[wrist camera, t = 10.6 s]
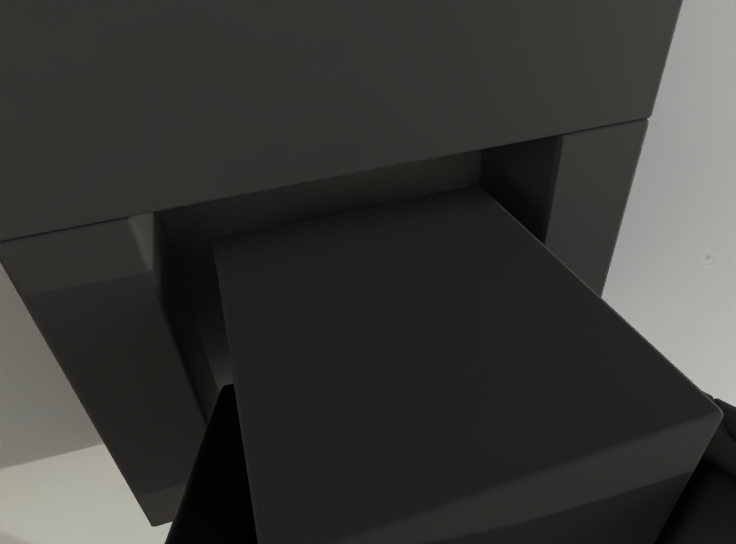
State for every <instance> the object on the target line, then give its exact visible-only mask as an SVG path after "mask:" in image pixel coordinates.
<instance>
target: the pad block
mask: <svg viewBox="0 0 736 544" xmlns="http://www.w3.org/2000/svg"><path fill="white" fill-rule="evenodd" d="M213 248H214V255H215V261H216V268H217V275H218V281H219V288H220V295H221V301H222V308H223V315H224V321H225V328H226V334H227V341H228V348H229V354H230V361H231V368H232V374H233V381H234V388H235V394H236V401H237V408H238V414H239V421H240V428H241V434H242V441H243V448H244V454H245V461H246V467H247V474H248V481H249V487H250V494H251V501H252V507H253V514H254V521H255V527H256V534H257V541H258V544H654V543H655V541H656V540H657V538H658V536H659V534H660V532H661V530H662V529H663V527H664V525H665V523H666V521H667V519H668V518H669V516H670V514H671V512H672V510H673V508H674V506H675V505H676V503H677V501H678V499H679V497H680V495H681V494H682V492H683V490H684V488H685V486H686V484H687V482H688V481H689V479H690V477H691V475H692V473H693V471H694V470H695V468H696V466H697V464H698V462H699V460H700V459H701V457H702V455H703V453H704V451H705V449H706V447H707V446H708V444H709V442H710V440H711V438H712V436H713V435H714V433H715V431H716V429H717V427H718V425H719V423H720V422H721V420H722V418H723V412H722V410H721V408H720V407H718V406H717V405H716V404H715V403H714V402H713V401H712V400H711V399H710V398H709V397H708V396H707V395H706V394H704V393H703V392H702V391H701V390H700V389H699V388H698V387H697V386H696V385H695V384H694V383H693V382H691V381H690V380H689V379H688V378H687V377H686V376H685V375H684V374H683V373H682V372H681V371H680V370H678V369H677V368H676V367H675V366H674V365H673V364H672V363H671V362H670V361H669V360H668V359H667V358H665V357H664V356H663V355H662V354H661V353H660V352H659V351H658V350H657V349H656V348H655V347H654V346H653V345H651V344H650V343H649V342H648V341H647V340H646V339H645V338H644V337H643V336H642V335H641V334H640V333H638V332H637V331H636V330H635V329H634V328H633V327H632V326H631V325H630V324H629V323H628V322H627V321H625V320H624V319H623V318H622V317H621V316H620V315H619V314H618V313H617V312H616V311H615V310H614V309H612V308H611V307H610V306H609V305H608V304H607V303H606V302H605V301H604V300H603V299H602V298H601V297H600V296H598V295H597V294H596V293H595V292H594V291H593V290H592V289H591V288H590V287H589V286H588V285H587V284H585V283H584V282H583V281H582V280H581V279H580V278H579V277H578V276H577V275H576V274H575V273H574V272H572V271H571V270H570V269H569V268H568V267H567V266H566V265H565V264H564V263H563V262H562V261H561V260H559V259H558V258H557V257H556V256H555V255H554V254H553V253H552V252H551V251H550V250H549V249H548V248H547V247H545V246H544V245H543V244H542V243H541V242H540V241H539V240H538V239H537V238H536V237H535V236H534V235H532V234H531V233H530V232H529V231H528V230H527V229H526V228H525V227H524V226H523V225H522V224H521V223H519V222H518V221H517V220H516V219H515V218H514V217H513V216H512V215H511V214H510V213H509V212H508V211H506V210H505V209H504V208H503V207H502V206H501V205H500V204H499V203H498V202H497V201H496V200H495V199H494V198H492V197H491V196H490V195H489V194H488V193H487V192H486V191H485V190H484V189H483V188H482V187H481V186H479V185H473V186H468V187H463V188H459V189H454V190H449V191H444V192H439V193H434V194H429V195H424V196H420V197H415V198H410V199H405V200H400V201H395V202H390V203H385V204H381V205H376V206H371V207H366V208H361V209H356V210H351V211H346V212H342V213H337V214H332V215H327V216H322V217H317V218H312V219H307V220H303V221H298V222H293V223H288V224H283V225H278V226H273V227H268V228H264V229H259V230H254V231H249V232H244V233H239V234H234V235H229V236H225V237H220V238H216V239H214V241H213Z"/></svg>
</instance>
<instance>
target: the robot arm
mask: <svg viewBox="0 0 736 544" xmlns="http://www.w3.org/2000/svg"><path fill="white" fill-rule="evenodd" d="M702 392H703V391H702ZM703 393H704V394H706V395H707V396H708V397H709V398H710V399H711V400H712V401H713V402H714V403H715V404H716V405H717V406H718V407H720V408H721V410H722V412H723V418H722V420H721V422H720V423H719V425H718V427H717V429H716V431H715V433H714V435H713V436H712V438H711V440H710V442H709V444H708V446H707V447H706V449H705V451H704V453H703V455H702V457H701V459H700V460H699V462H698V464H697V466H696V468H695V470H694V471H693V473H692V475H691V477H690V479H689V481H688V482H687V484H686V486H685V488H684V490H683V492H682V494H681V495H680V497H679V499H678V501H677V503H676V505H675V506H674V508H673V510H672V512H671V514H670V516H669V518H668V519H667V521H666V523H665V525H664V527H663V529H662V530H661V532H660V534H659V536H658V538H657V540H656V541H655V543H654V544H736V407H734V406H732V405H730V404H728V403H726V402H724V401H722V400H720V399H717V398H716V399H714V398H713V397H712V396H711V395H709V394H707V393H705V392H703ZM165 544H258V541H257V534H256V527H255V521H254V514H253V507H252V501H251V494H250V487H249V481H248V474H247V467H246V461H245V454H244V448H243V441H242V434H241V428H240V421H239V414H238V408H237V401H236V394H235V388H234V383H233V384H229V385H225V386H224V387H223V388H222V389H221V392H220V394H219V397H218V400H217V402H216V405H215V408H214V411H213V413H212V416H211V419H210V421H209V424H208V427H207V430H206V432H205V435H204V438H203V441H202V443H201V446H200V449H199V451H198V454H197V457H196V460H195V462H194V465H193V468H192V471H191V473H190V476H189V479H188V481H187V484H186V487H185V490H184V492H183V495H182V498H181V501H180V503H179V506H178V509H177V511H176V514H175V517H174V520H173V522H172V525H171V528H170V531H169V533H168V536H167V539H166V541H165Z"/></svg>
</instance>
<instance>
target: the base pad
mask: <svg viewBox="0 0 736 544" xmlns="http://www.w3.org/2000/svg"><path fill="white" fill-rule="evenodd" d="M682 2H683V0H0V262H1V264H2V266H3V268H4V269H5V271H6V273H7V274H8V276H9V278H10V280H11V281H12V283H13V285H14V287H15V288H16V290H17V292H18V294H19V295H20V297H21V299H22V301H23V302H24V304H25V306H26V308H27V309H28V311H29V313H30V315H31V316H32V318H33V320H34V322H35V323H36V325H37V327H38V329H39V330H40V332H41V334H42V336H43V337H44V339H45V341H46V342H47V344H48V346H49V348H50V349H51V351H52V353H53V355H54V356H55V358H56V360H57V362H58V363H59V365H60V367H61V369H62V370H63V372H64V374H65V376H66V377H67V379H68V381H69V383H70V384H71V386H72V388H73V390H74V391H75V393H76V395H77V397H78V398H79V400H80V402H81V404H82V405H83V407H84V409H85V410H86V412H87V414H88V416H89V417H90V419H91V421H92V423H93V424H94V426H95V428H96V430H97V431H98V433H99V435H100V437H101V438H102V440H103V442H104V444H105V445H106V447H107V449H108V451H109V452H110V454H111V456H112V458H113V459H114V461H115V463H116V465H117V466H118V468H119V470H120V472H121V473H122V475H123V477H124V478H125V480H126V482H127V484H128V485H129V487H130V489H131V491H132V492H133V494H134V496H135V498H136V499H137V501H138V503H139V505H140V506H141V508H142V510H143V512H144V513H145V515H146V517H147V519H148V520H149V522H150V524H151V526H159V525H162V524H165V523H169V522H172V521H173V520H174V517H175V514H176V511H177V509H178V506H179V503H180V501H181V498H182V495H183V492H184V490H185V487H186V484H187V481H188V479H189V476H190V473H191V471H192V468H193V465H194V462H195V460H196V457H197V454H198V451H199V449H200V446H201V443H202V441H203V438H204V435H205V432H206V430H207V427H208V424H209V421H210V419H211V416H212V413H213V411H214V408H215V405H216V402H217V400H218V397H219V392H218V389H217V386H216V383H215V380H214V377H213V374H212V371H211V368H210V365H209V362H208V359H207V356H206V352H205V349H204V346H203V343H202V340H201V337H200V334H199V331H198V328H197V325H196V322H195V319H194V316H193V313H192V310H191V307H190V304H189V301H188V298H187V295H186V292H185V289H184V286H183V283H182V280H181V277H180V274H179V271H178V268H177V265H176V262H175V259H174V256H173V253H172V250H171V247H170V244H169V241H168V238H167V235H166V232H165V229H164V226H163V222H162V219H161V216H160V213H159V211H161V210H166V209H171V208H177V207H182V206H187V205H192V204H198V203H203V202H208V201H213V200H219V199H224V198H229V197H234V196H240V195H245V194H250V193H255V192H261V191H266V190H271V189H276V188H282V187H287V186H292V185H297V184H303V183H308V182H313V181H318V180H324V179H329V178H334V177H339V176H345V175H350V174H355V173H360V172H366V171H371V170H376V169H381V168H387V167H392V166H397V165H402V164H408V163H413V162H418V161H423V160H429V159H434V158H439V157H444V156H450V155H455V154H460V153H465V152H471V151H476V150H481V149H483V152H482V164H481V176H480V186H481V187H482V188H483V189H484V190H485V191H486V192H487V193H488V194H489V195H490V196H491V197H492V198H494V199H495V200H496V201H497V202H498V203H499V204H500V205H501V206H502V207H503V208H504V209H505V210H506V211H508V212H509V213H510V214H511V215H512V216H513V217H514V218H515V219H516V220H517V221H518V222H519V223H521V224H522V225H523V226H524V227H525V228H526V229H527V230H528V231H529V232H530V233H531V234H532V235H534V236H535V237H536V238H537V239H538V240H539V241H540V242H541V243H542V244H543V245H544V246H545V247H547V248H548V249H549V250H550V251H551V252H552V253H553V254H554V255H555V256H556V257H557V258H558V259H559V260H561V261H562V262H563V263H564V264H565V265H566V266H567V267H568V268H569V269H570V270H571V271H572V272H574V273H575V274H576V275H577V276H578V277H579V278H580V279H581V280H582V281H583V282H584V283H585V284H587V285H588V286H589V287H590V288H591V289H592V290H593V291H594V292H595V293H596V294H597V295H598V296H600V297H601V296H602V293H603V289H604V285H605V281H606V278H607V274H608V270H609V267H610V263H611V259H612V256H613V252H614V248H615V245H616V241H617V237H618V234H619V230H620V226H621V223H622V219H623V215H624V212H625V208H626V204H627V201H628V197H629V193H630V190H631V186H632V182H633V179H634V175H635V171H636V168H637V164H638V160H639V157H640V153H641V149H642V145H643V142H644V138H645V134H646V131H647V127H648V119H647V118H649V117H650V116H651V115H652V111H653V108H654V104H655V100H656V97H657V93H658V89H659V86H660V82H661V78H662V75H663V71H664V67H665V64H666V60H667V56H668V53H669V49H670V45H671V42H672V38H673V34H674V31H675V27H676V23H677V20H678V16H679V13H680V9H681V5H682Z"/></svg>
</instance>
